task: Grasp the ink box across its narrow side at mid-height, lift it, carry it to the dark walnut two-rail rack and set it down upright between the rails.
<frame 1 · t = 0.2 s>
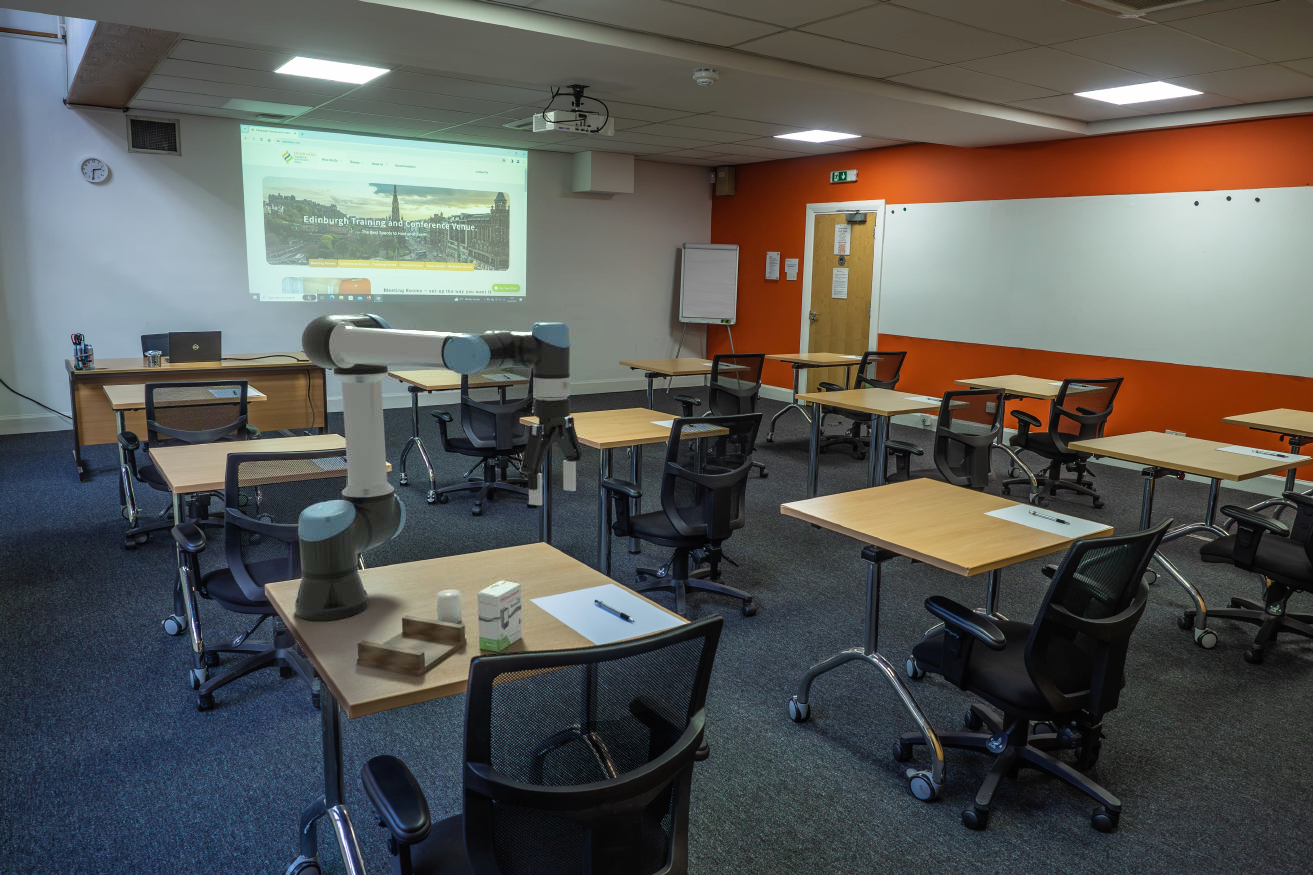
hand: (553, 497, 178), 27 cm above the table, fingers open, 13 cm apart
white cylinder: (449, 619, 182), on the table
ink box: (500, 643, 170), on the table
rack: (413, 653, 165), on the table
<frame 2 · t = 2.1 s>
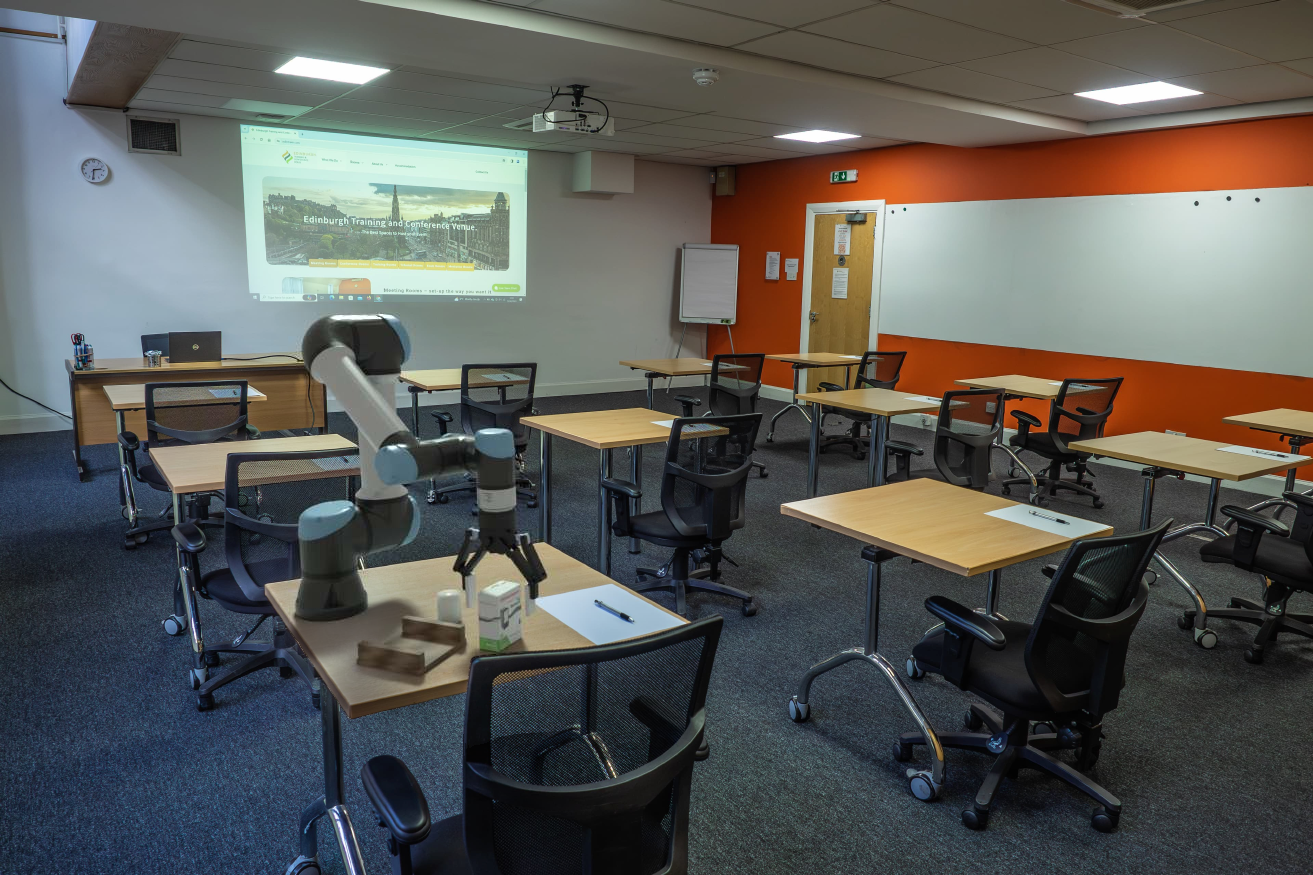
hand: (500, 609, 169), 7 cm above the table, fingers open, 13 cm apart
nothing on the table moved.
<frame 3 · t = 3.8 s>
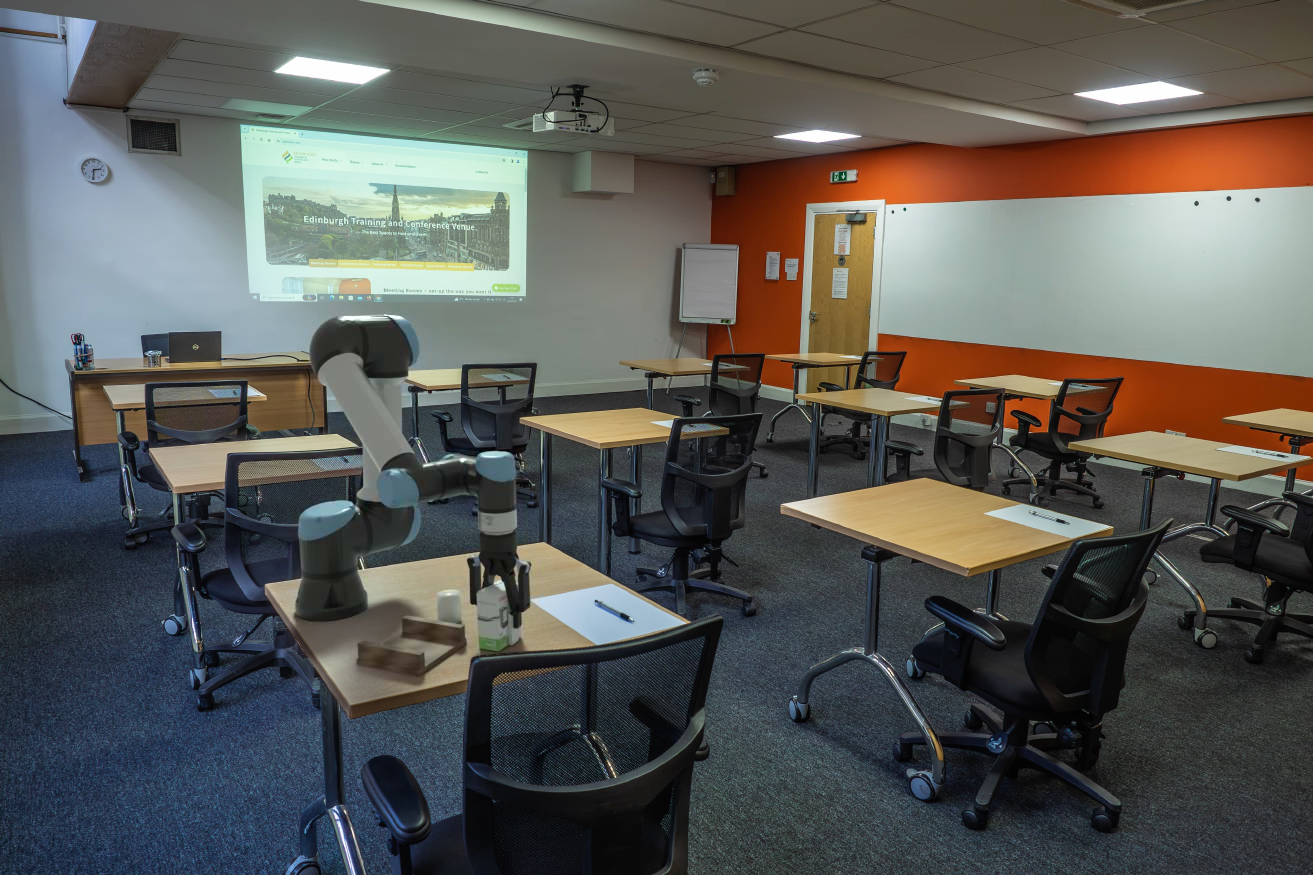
hand: (501, 639, 171), 0 cm above the table, fingers closed on ink box, 5 cm apart
ink box: (500, 643, 170), on the table, touching gripper
everything else where it was.
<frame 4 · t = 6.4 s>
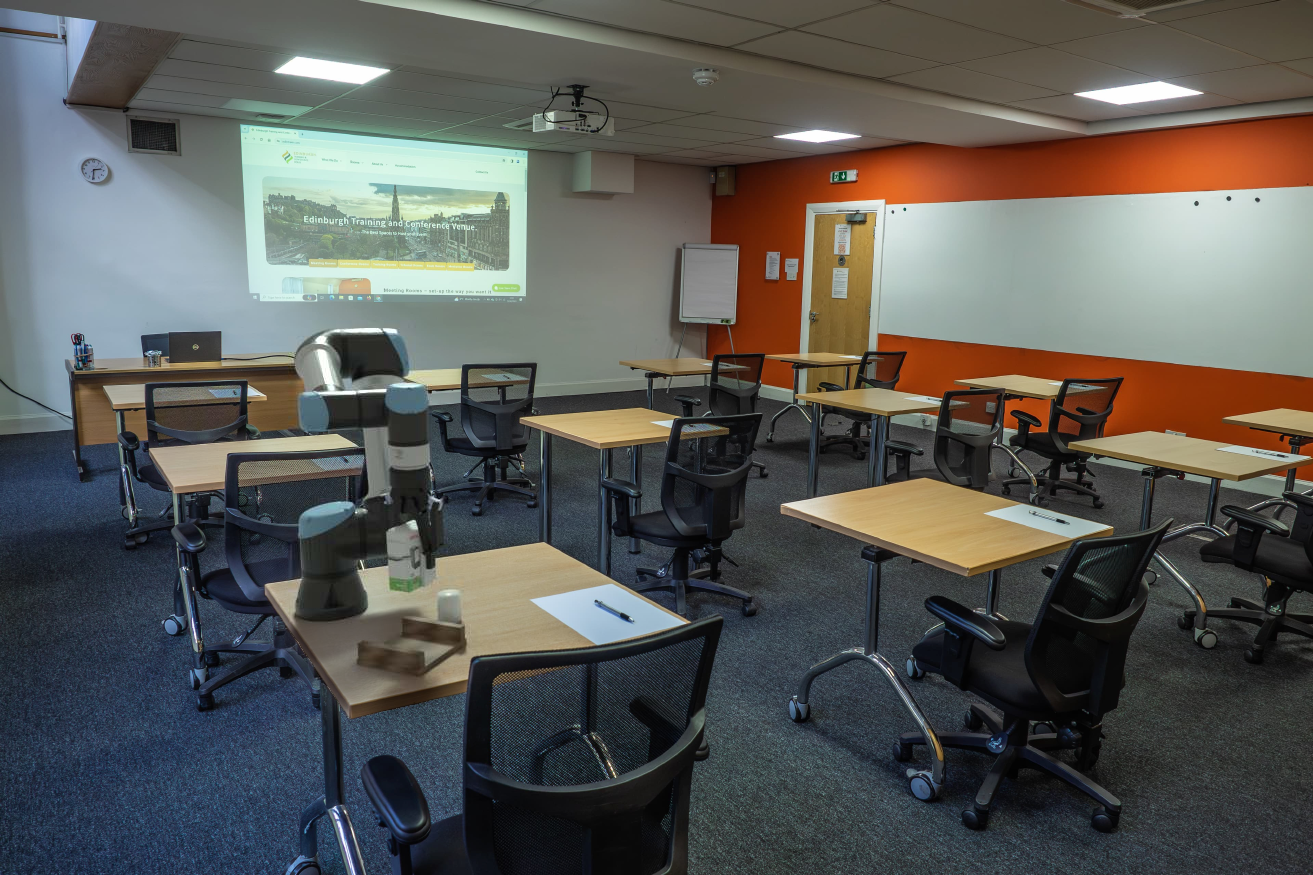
hand: (414, 581, 163), 14 cm above the table, fingers closed on ink box, 5 cm apart
ink box: (413, 585, 163), point 14 cm above the table, touching gripper
everything else where it was.
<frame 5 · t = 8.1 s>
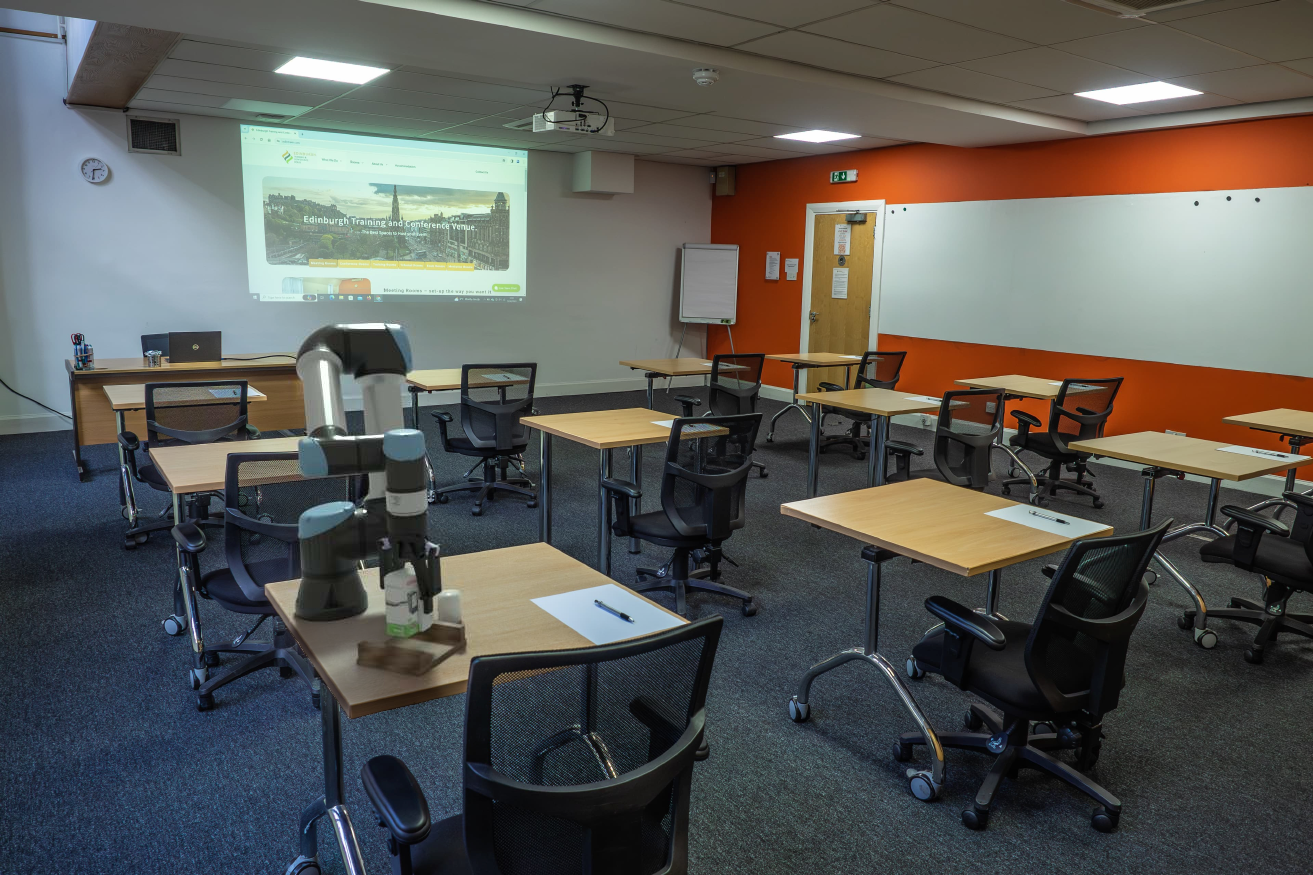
hand: (412, 626, 164), 6 cm above the table, fingers closed on ink box, 5 cm apart
ink box: (411, 629, 164), point 5 cm above the table, touching gripper
everything else where it was.
when the fingers open (3 cm above the table, at t = 9.4 s): ink box drops 1 cm, resting on rack.
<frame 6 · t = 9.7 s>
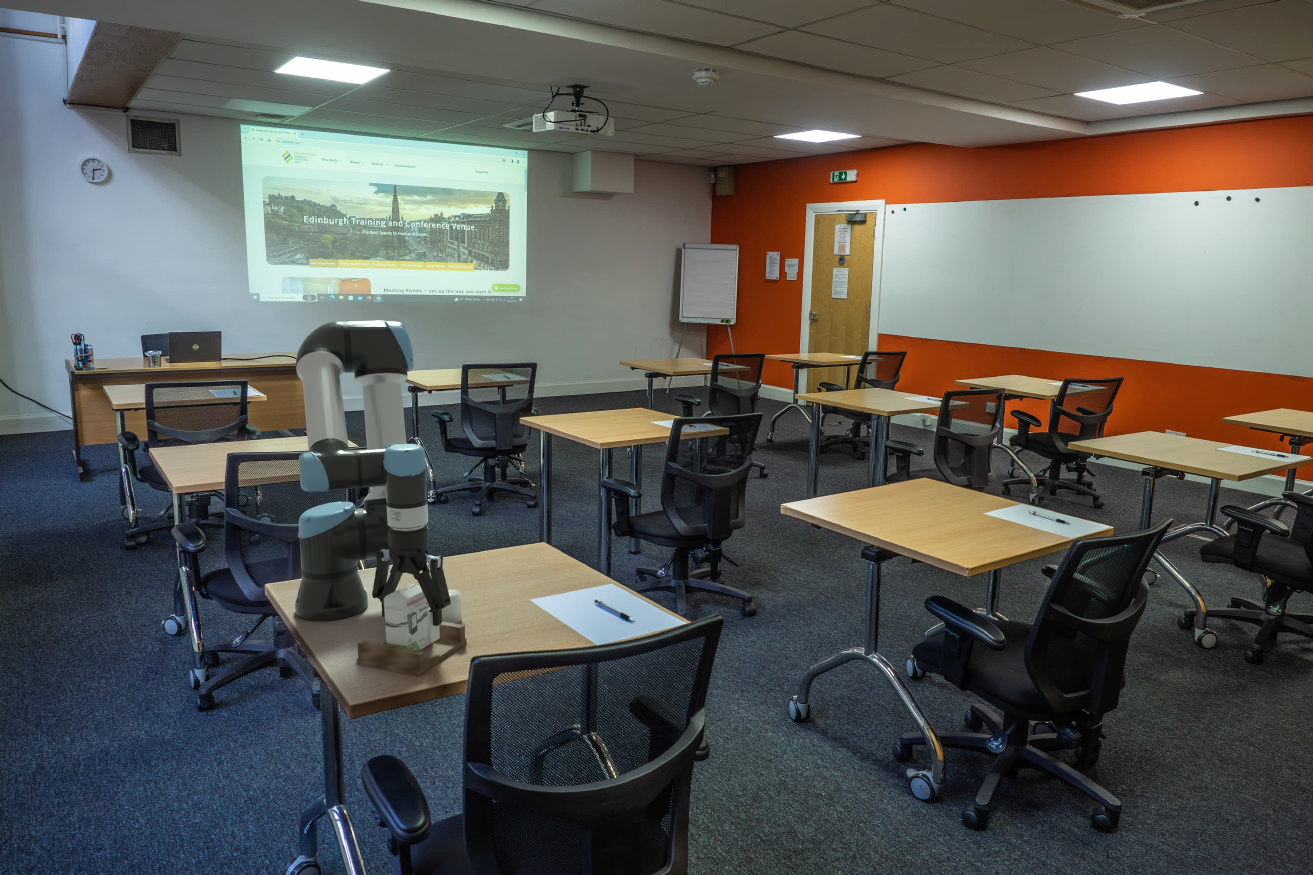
hand: (412, 636, 164), 4 cm above the table, fingers open, 9 cm apart
ink box: (410, 649, 165), point 1 cm above the table, touching rack
everything else where it was.
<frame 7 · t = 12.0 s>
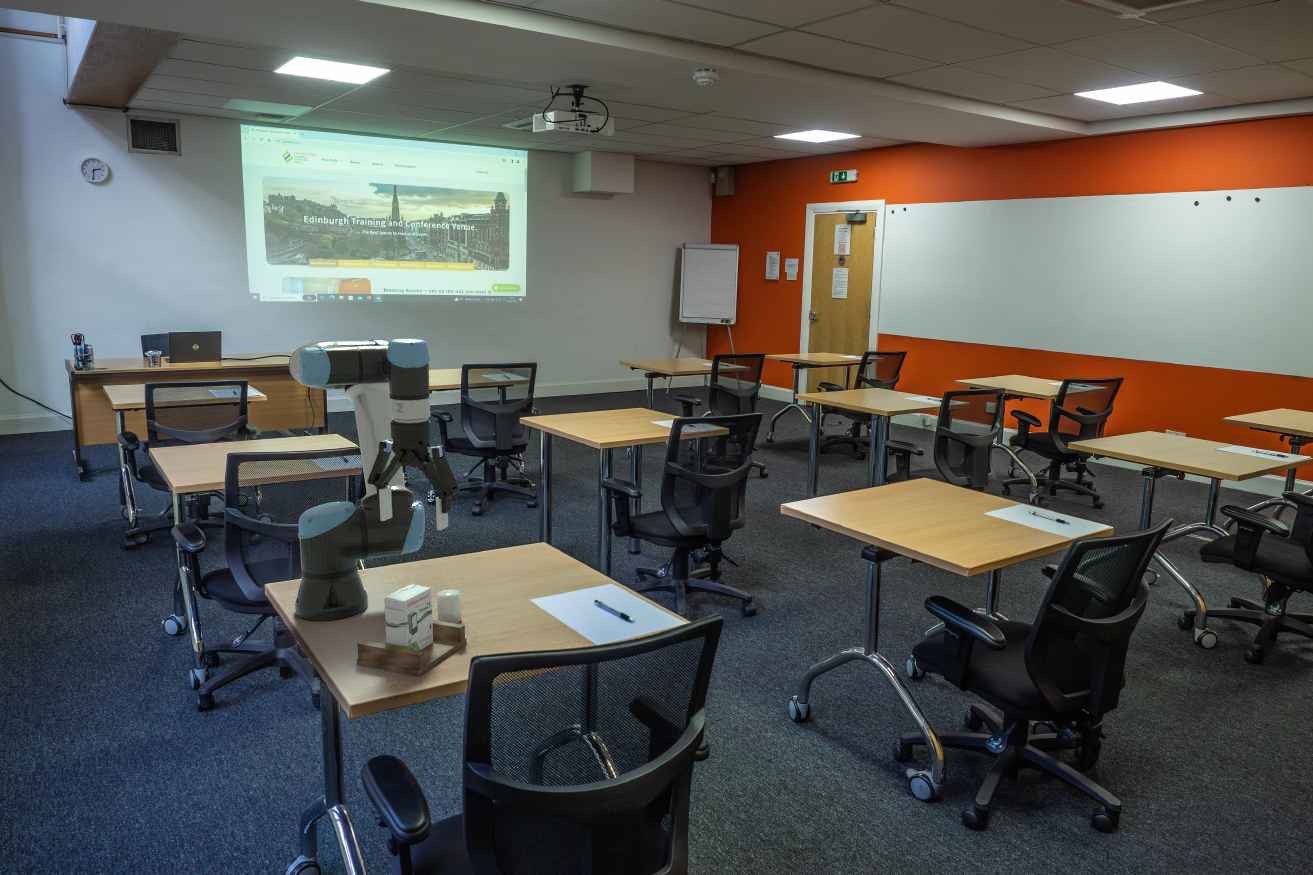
hand: (414, 523, 168), 24 cm above the table, fingers open, 13 cm apart
nothing on the table moved.
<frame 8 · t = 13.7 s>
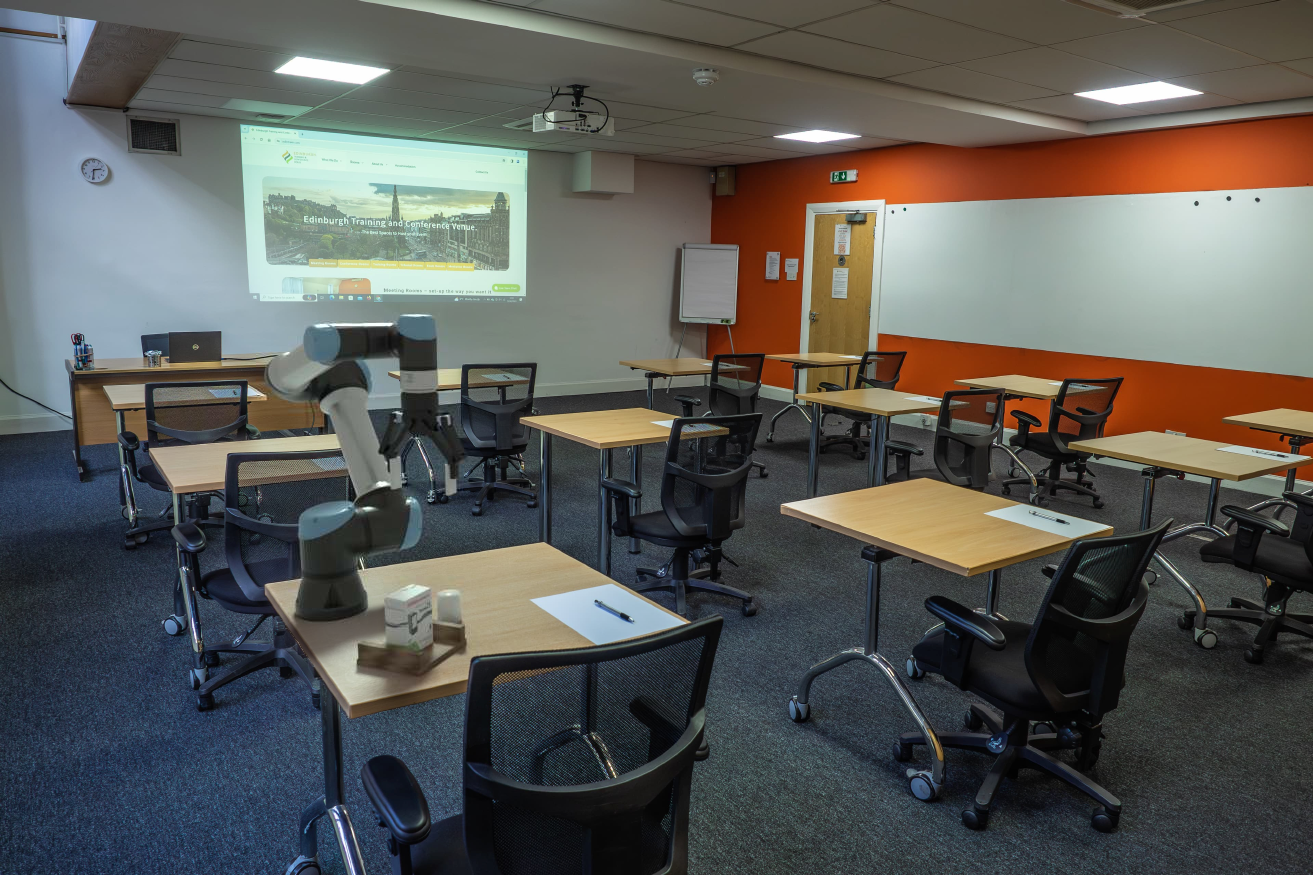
hand: (423, 491, 176), 29 cm above the table, fingers open, 13 cm apart
nothing on the table moved.
at the end: ink box inside the target area on the rack (0.5 cm from its centre), point 0.8 cm above the rack's base; ink box tilted 0°; the gripper is holding nothing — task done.
